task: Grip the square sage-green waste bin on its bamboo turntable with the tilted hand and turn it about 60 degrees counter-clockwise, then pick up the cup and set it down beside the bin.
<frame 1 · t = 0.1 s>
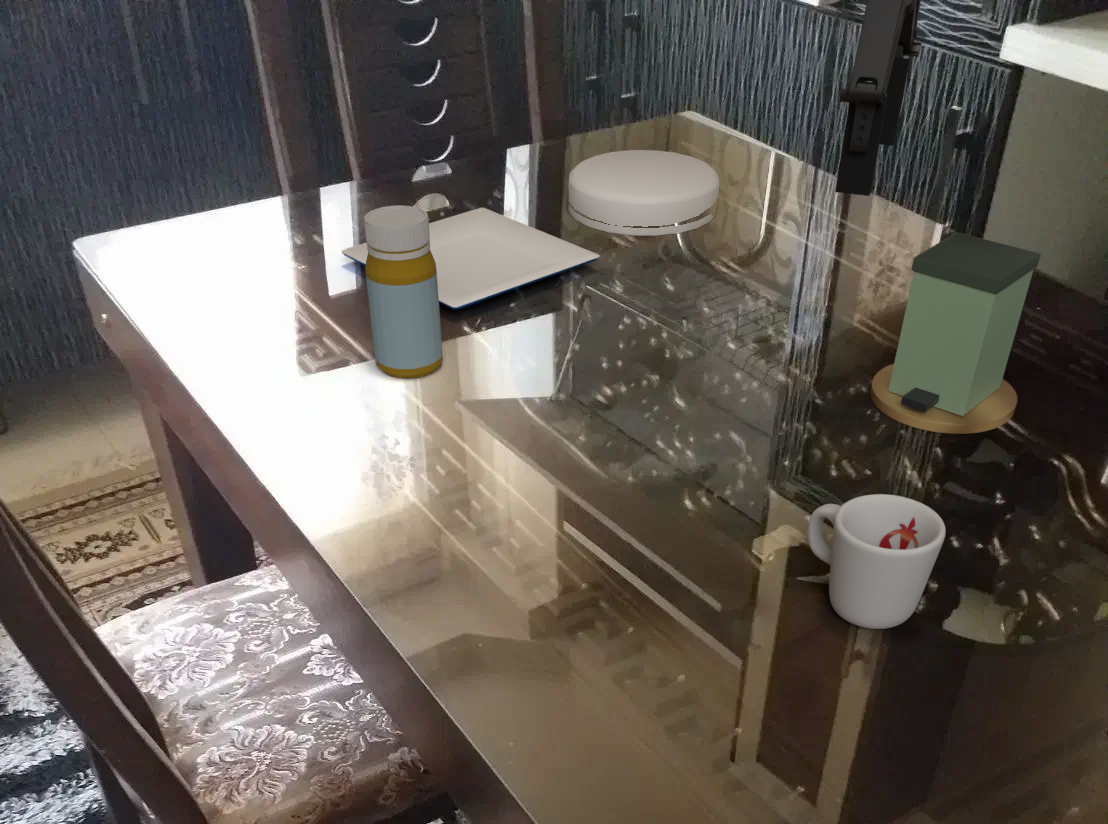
hand: (865, 167, 96), 23 cm above the table, tool pointing down, fingers open, 13 cm apart
bottle: (409, 367, 120), on the table
container: (642, 210, 154), on the table
bin: (954, 329, 108), point 8 cm above the table, hinge at 0.0°
plate: (470, 270, 139), on the table
turntable: (941, 399, 114), on the table
cup: (855, 603, 90), on the table
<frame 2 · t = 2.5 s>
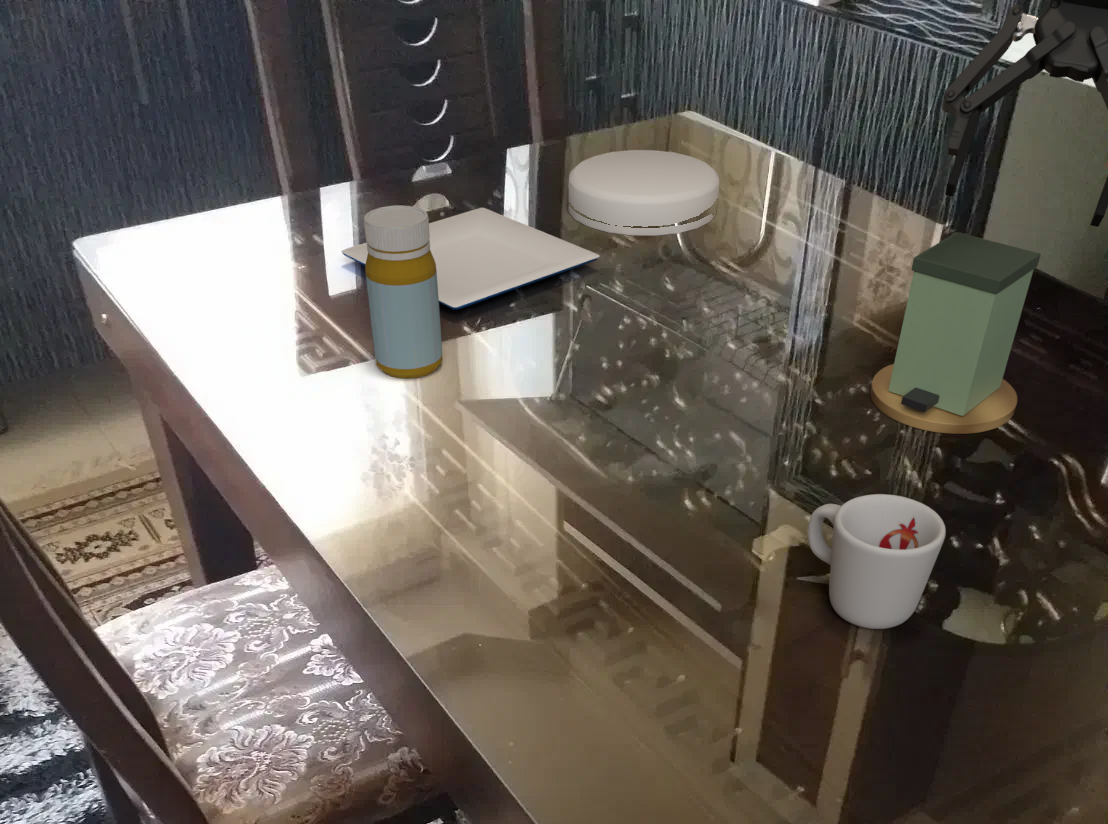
hand: (1022, 205, 108), 16 cm above the table, tool tilted 40°, fingers open, 13 cm apart
nothing on the table moved.
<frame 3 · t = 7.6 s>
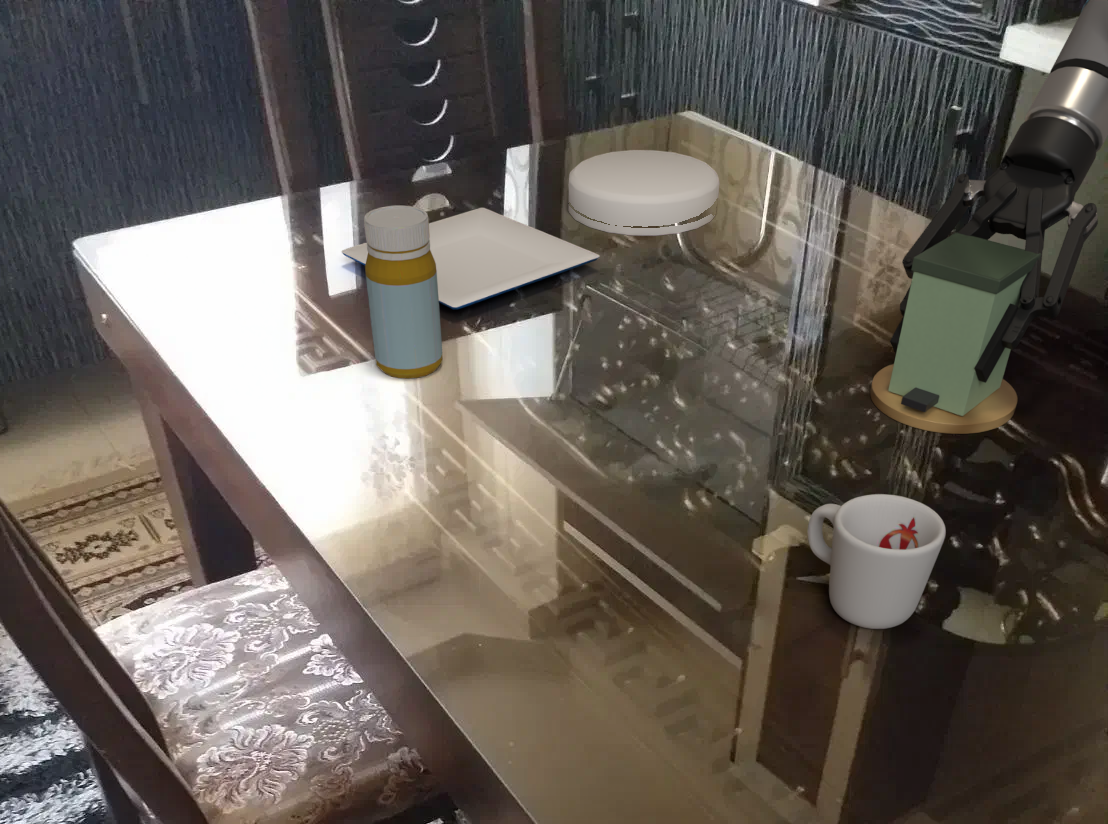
hand: (937, 361, 109), 5 cm above the table, tool tilted 45°, fingers closed on bin, 8 cm apart
bin: (954, 329, 108), point 8 cm above the table, hinge at -0.1°, touching gripper
everything else where it was.
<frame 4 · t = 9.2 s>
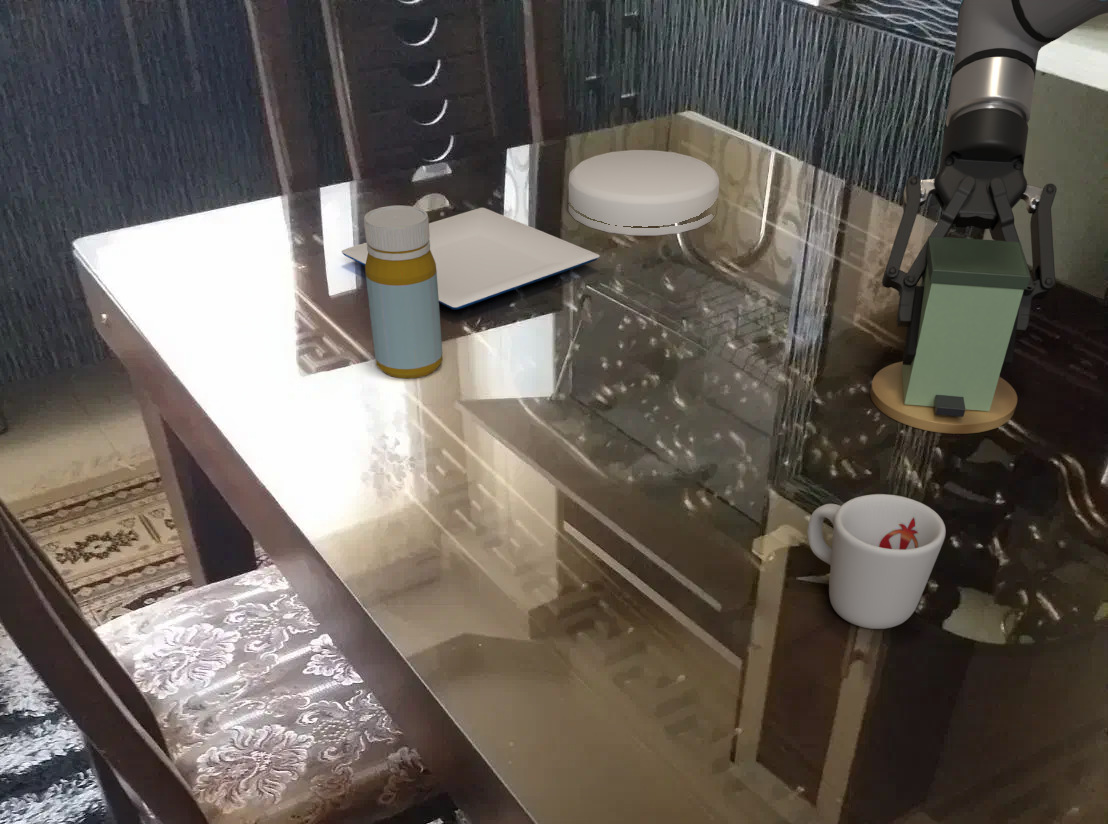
hand: (956, 363, 109), 5 cm above the table, tool tilted 45°, fingers closed on bin, 8 cm apart
bin: (961, 330, 108), point 8 cm above the table, hinge at 30.6°, touching gripper
everything else where it was.
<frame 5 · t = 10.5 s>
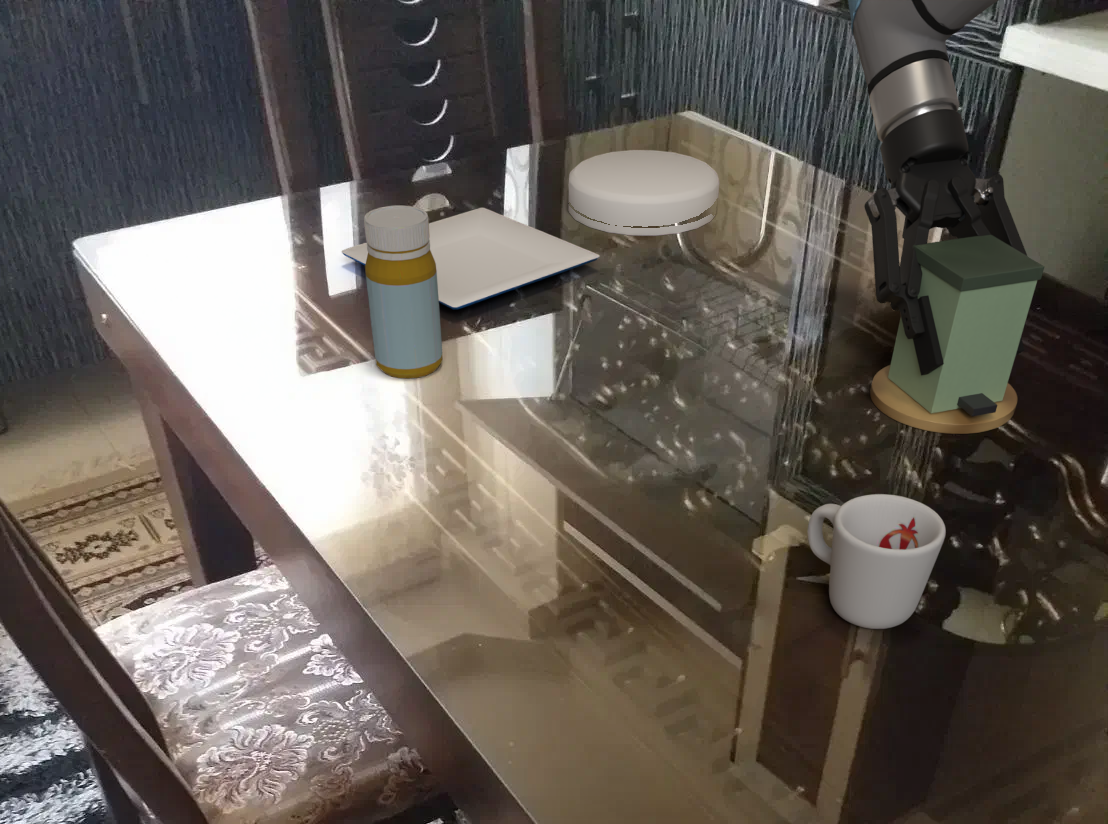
hand: (972, 362, 109), 5 cm above the table, tool tilted 45°, fingers closed on bin, 8 cm apart
bin: (967, 330, 108), point 8 cm above the table, hinge at 59.8°, touching gripper
everything else where it was.
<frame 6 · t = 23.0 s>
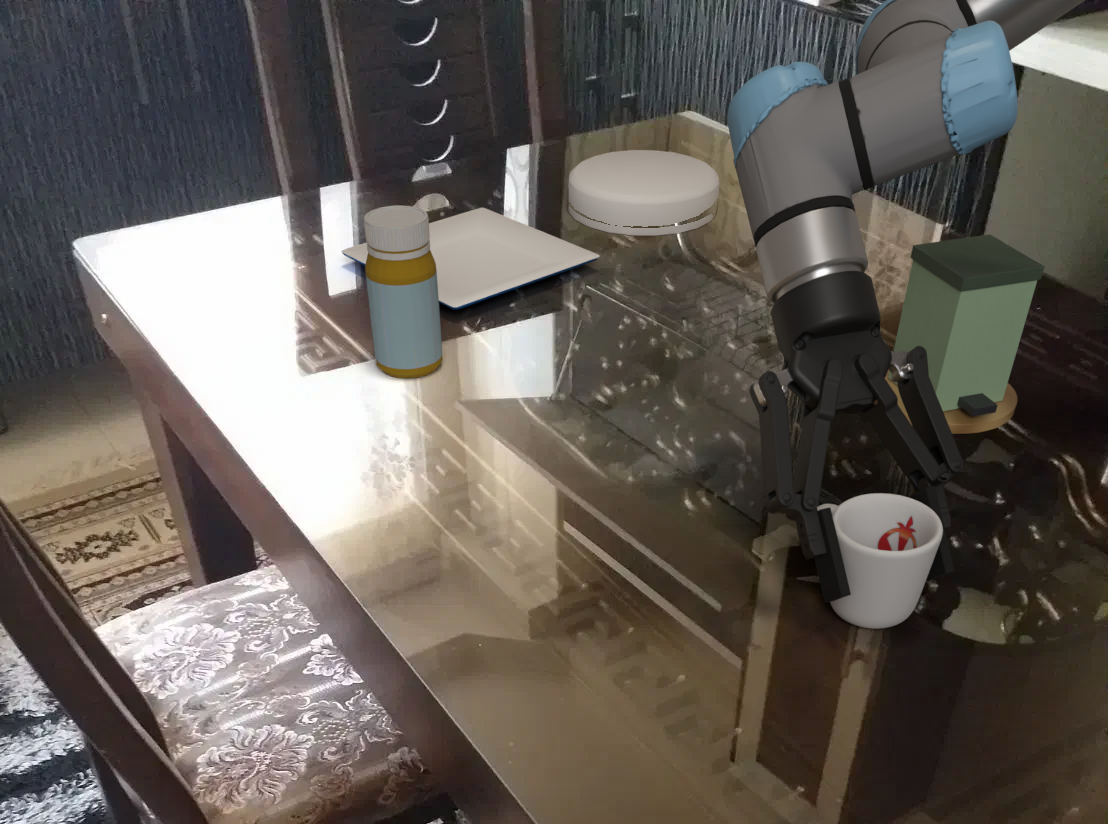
hand: (889, 587, 85), 4 cm above the table, tool tilted 45°, fingers closed on cup, 8 cm apart
bin: (967, 330, 108), point 8 cm above the table, hinge at 60.0°
cup: (855, 602, 90), on the table, touching gripper
everything else where it was.
when the fingers open (4 cm above the table, at t = 31.5 s): cup stays where it is, on the table.
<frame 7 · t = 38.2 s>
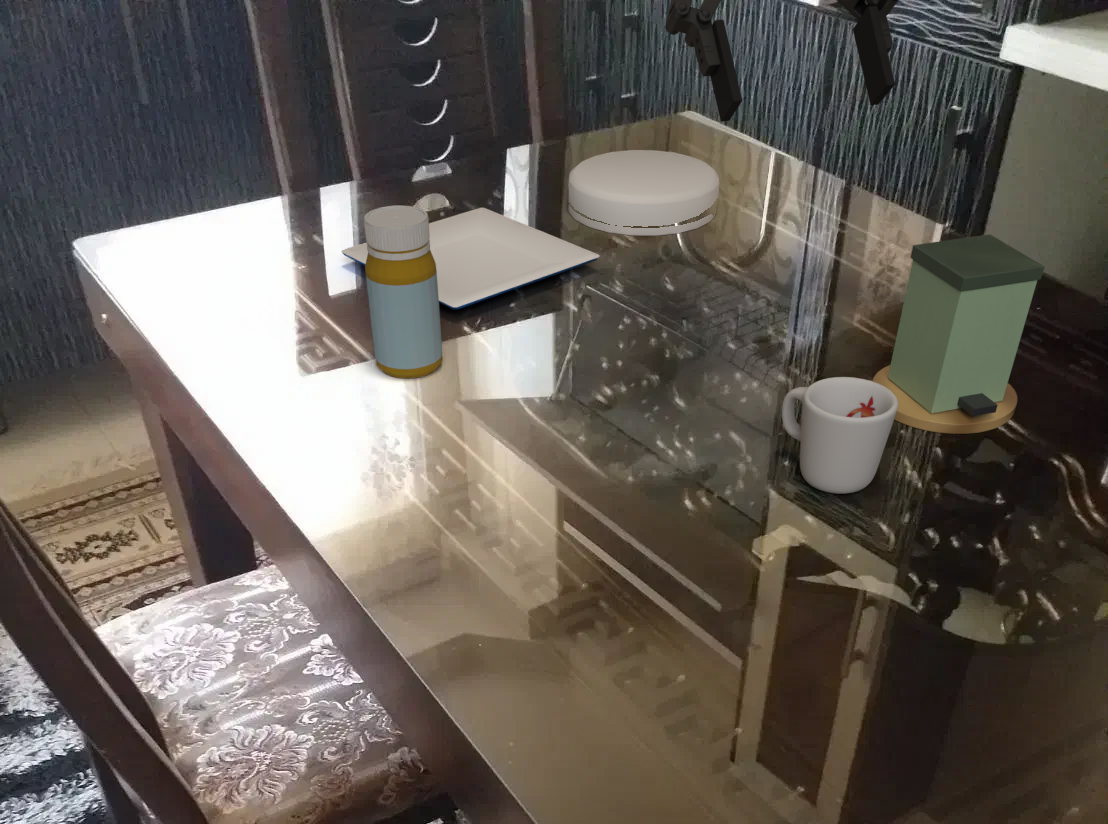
hand: (808, 103, 92), 28 cm above the table, tool tilted 45°, fingers open, 13 cm apart
cup: (822, 475, 104), on the table
everything else where it was.
at the end: bin at +60° (first picture: +0°); cup inside the target area on the table beside the bin (0.3 cm from its centre), on the table; cup tilted 0° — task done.
